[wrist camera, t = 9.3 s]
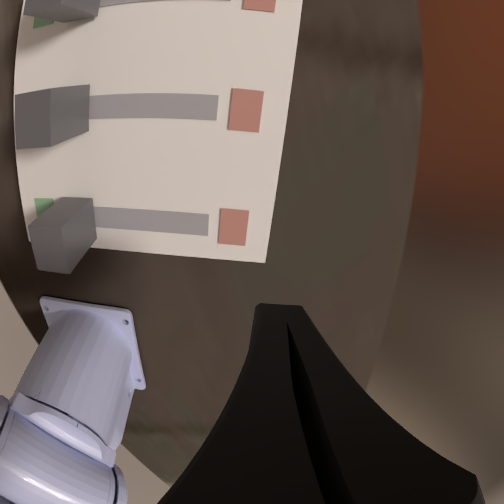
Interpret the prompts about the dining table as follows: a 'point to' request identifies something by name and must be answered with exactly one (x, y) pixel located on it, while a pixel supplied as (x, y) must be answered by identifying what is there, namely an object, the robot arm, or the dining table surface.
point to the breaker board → (158, 125)
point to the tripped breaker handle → (51, 116)
